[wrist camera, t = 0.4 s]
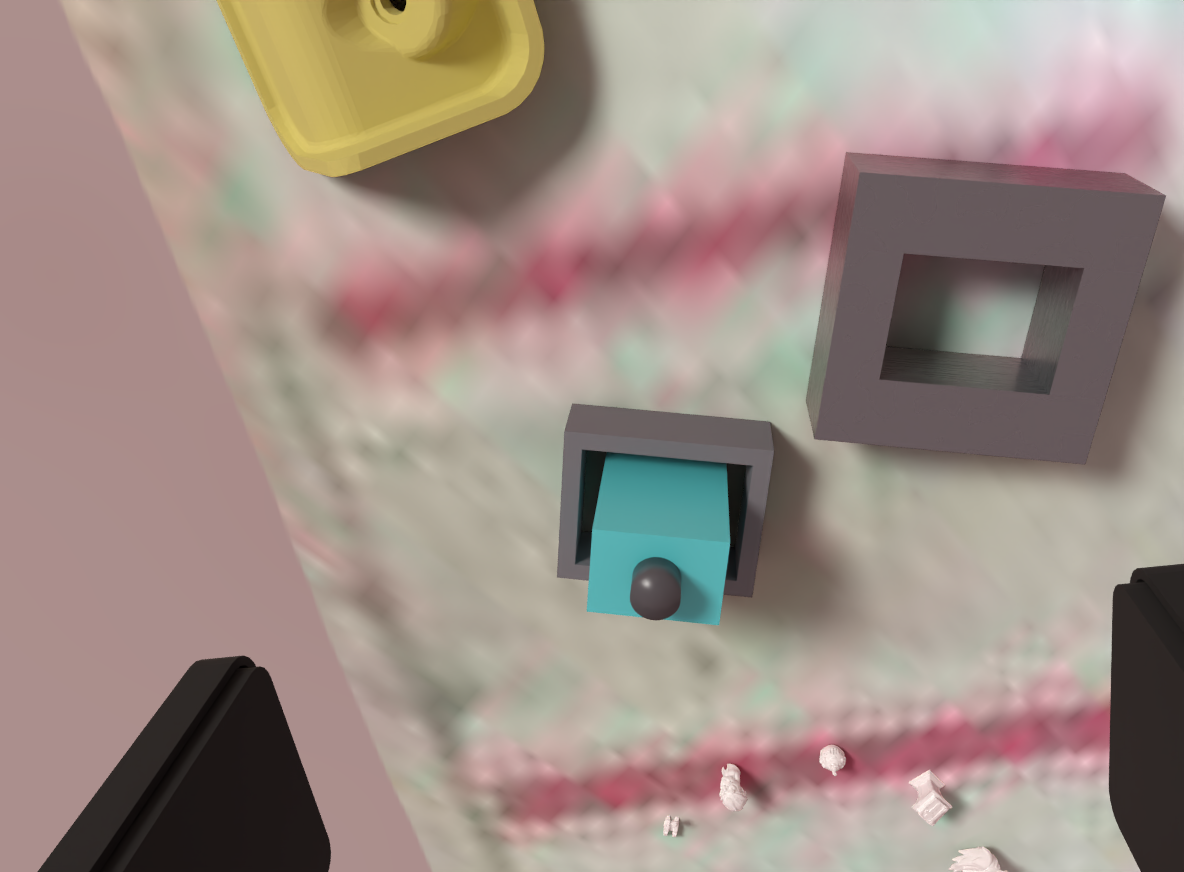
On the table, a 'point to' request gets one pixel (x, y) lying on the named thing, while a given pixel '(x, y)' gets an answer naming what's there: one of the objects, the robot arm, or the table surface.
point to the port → (984, 232)
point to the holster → (669, 440)
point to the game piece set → (930, 805)
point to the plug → (660, 539)
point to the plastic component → (383, 71)
